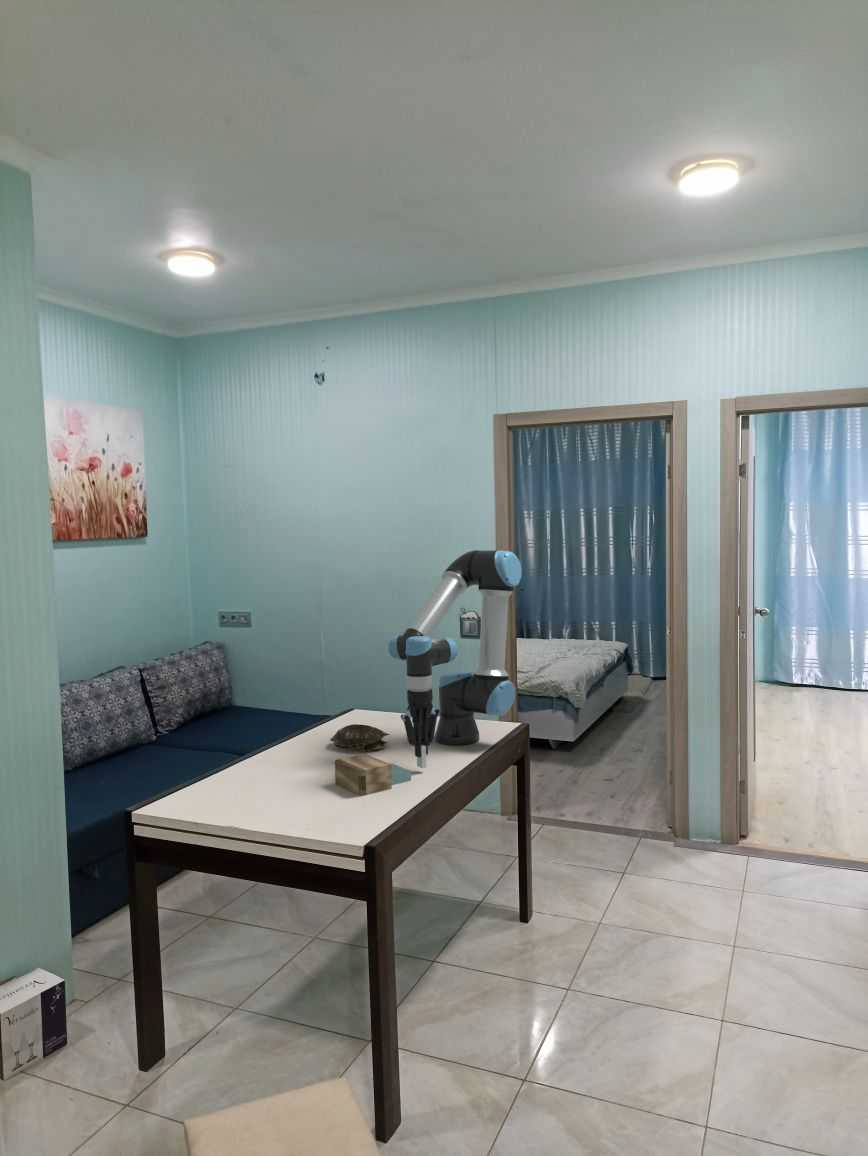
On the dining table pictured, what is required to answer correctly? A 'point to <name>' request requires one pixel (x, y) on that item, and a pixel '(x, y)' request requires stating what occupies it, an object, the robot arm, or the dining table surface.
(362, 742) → the turtle shell
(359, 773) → the overhang
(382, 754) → the dining table surface
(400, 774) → the teal tabbed plate
